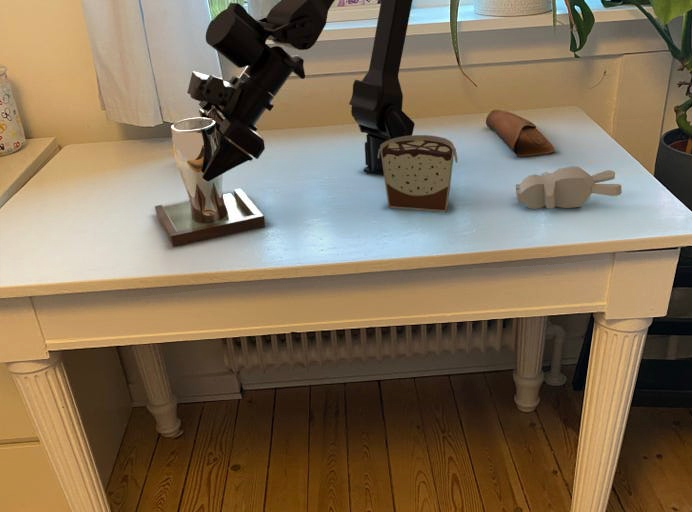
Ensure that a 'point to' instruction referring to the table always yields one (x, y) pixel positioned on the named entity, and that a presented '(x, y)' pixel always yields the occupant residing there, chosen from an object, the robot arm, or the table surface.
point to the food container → (418, 171)
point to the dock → (186, 232)
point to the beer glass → (199, 169)
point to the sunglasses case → (518, 134)
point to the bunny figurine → (564, 188)
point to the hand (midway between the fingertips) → (198, 170)
